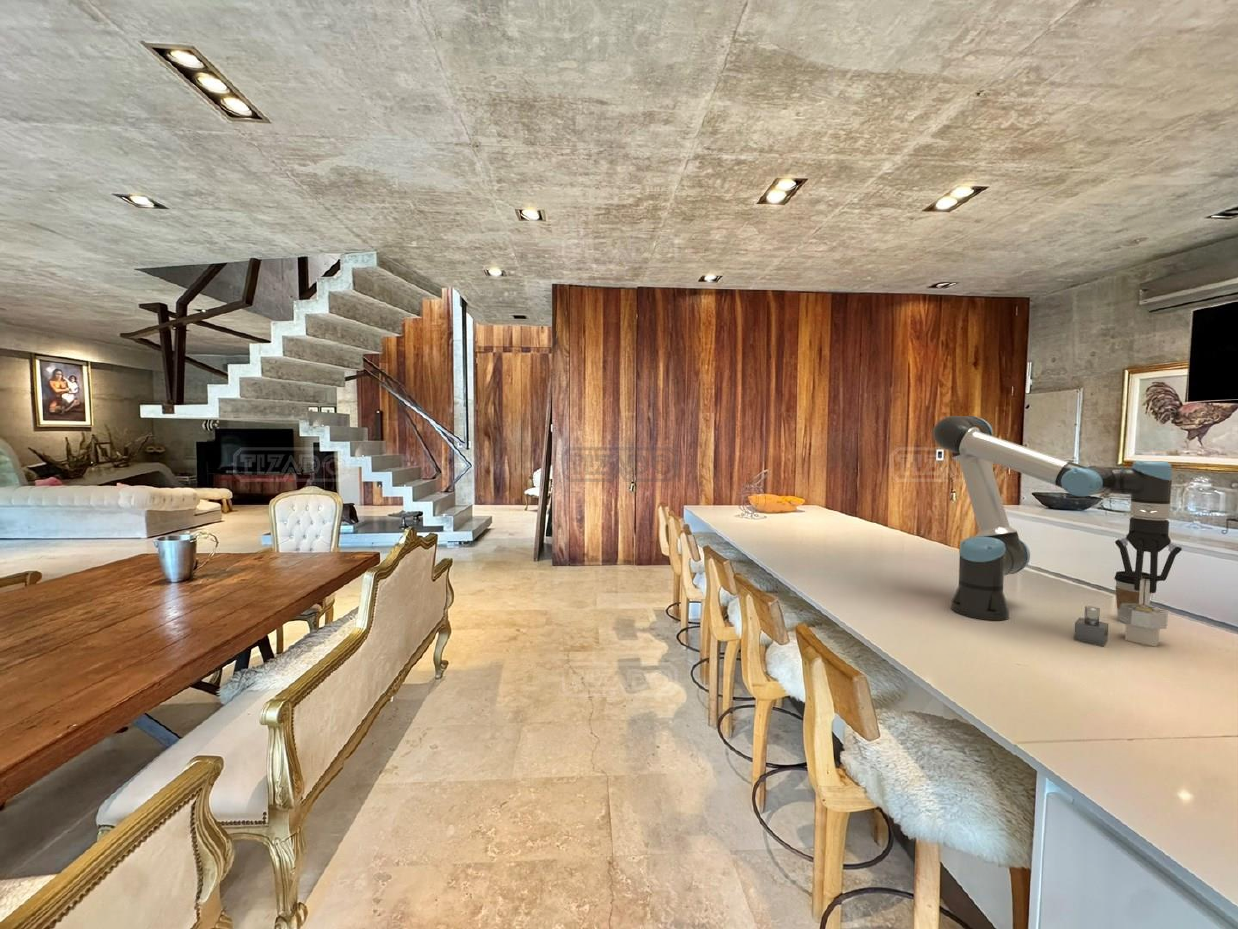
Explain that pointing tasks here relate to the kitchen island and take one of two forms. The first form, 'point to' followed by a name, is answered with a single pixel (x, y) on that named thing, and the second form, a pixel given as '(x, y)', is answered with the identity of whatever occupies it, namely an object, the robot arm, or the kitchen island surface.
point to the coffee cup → (1127, 589)
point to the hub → (1142, 633)
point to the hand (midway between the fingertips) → (1144, 603)
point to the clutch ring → (1143, 616)
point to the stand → (1091, 628)
